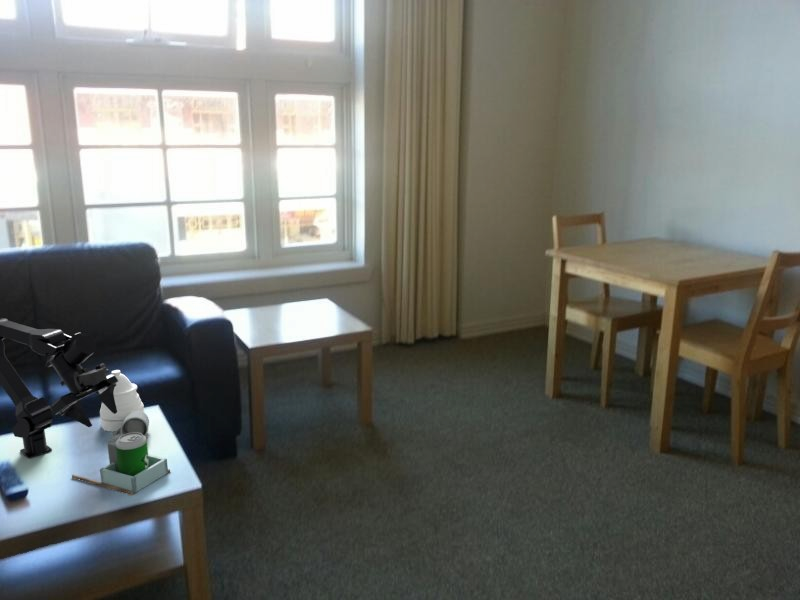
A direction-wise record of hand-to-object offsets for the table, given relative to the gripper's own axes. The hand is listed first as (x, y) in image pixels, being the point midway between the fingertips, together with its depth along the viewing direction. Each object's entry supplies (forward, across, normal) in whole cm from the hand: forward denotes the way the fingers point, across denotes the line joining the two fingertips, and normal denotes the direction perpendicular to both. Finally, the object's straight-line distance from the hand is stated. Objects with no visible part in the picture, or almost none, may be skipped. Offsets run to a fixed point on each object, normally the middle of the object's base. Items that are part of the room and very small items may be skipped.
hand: (103, 419), depth 179 cm
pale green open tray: (+17, -4, -1) cm, 18 cm away
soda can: (+18, -4, -1) cm, 19 cm away
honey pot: (+2, +24, +21) cm, 32 cm away
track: (+15, -3, +2) cm, 16 cm away
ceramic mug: (+7, +16, +14) cm, 23 cm away
